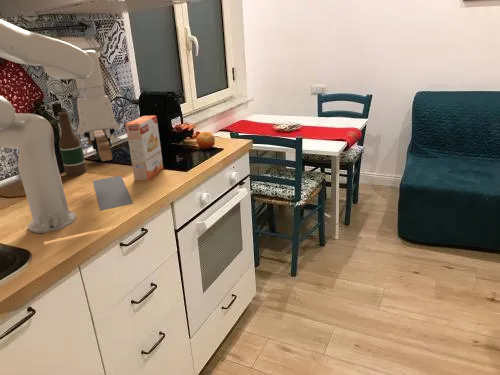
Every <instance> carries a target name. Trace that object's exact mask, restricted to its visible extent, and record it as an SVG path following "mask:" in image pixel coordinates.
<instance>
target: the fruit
mask: <svg viewBox="0 0 500 375" xmlns="http://www.w3.org/2000/svg"><path fill="white" fill-rule="evenodd" d="M195 140H196V144H197V146H198V147H199V148H200V149H201V150H208V149H210V148H213V147H214V146H215V144H216V143H215V142H216V139H215V136H214V135H213V134H212V133H211V132H207V131H202V132H200V133H199V134H198V135H197V136H196V137H195Z"/></svg>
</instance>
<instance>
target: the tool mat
mask: <svg viewBox="0 0 500 375" xmlns="http://www.w3.org/2000/svg"><path fill="white" fill-rule="evenodd" d="M92 183H93V188H94V191H95V192H94V193H95V196H96V200H97V204H98V208H99V212H101V211H105V210H109V209H115V208H119V207H123V206H130V205H134V204H135V203H134V201H133V199H132V197H131V195H130V193H129V190H128V188H127V185H126V184H125V181H124V180H123V177H122V175H117V176H111V177H105V178H100V179H94V180H92Z"/></svg>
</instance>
